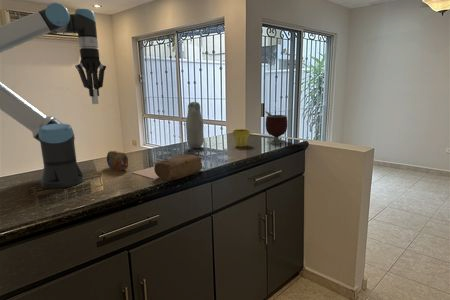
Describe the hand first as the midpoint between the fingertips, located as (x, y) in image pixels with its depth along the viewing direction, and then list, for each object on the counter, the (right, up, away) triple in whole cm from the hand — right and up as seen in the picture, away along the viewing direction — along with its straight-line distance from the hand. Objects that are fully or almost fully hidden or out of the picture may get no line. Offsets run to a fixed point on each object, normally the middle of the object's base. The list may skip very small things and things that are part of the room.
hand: (95, 103), depth 135 cm
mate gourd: (+91, -16, +63) cm, 112 cm away
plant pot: (+68, -18, +54) cm, 89 cm away
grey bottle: (+40, -20, +51) cm, 67 cm away
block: (+32, -29, -14) cm, 46 cm away
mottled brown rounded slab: (+8, -30, +7) cm, 32 cm away
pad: (+30, -30, +1) cm, 42 cm away
